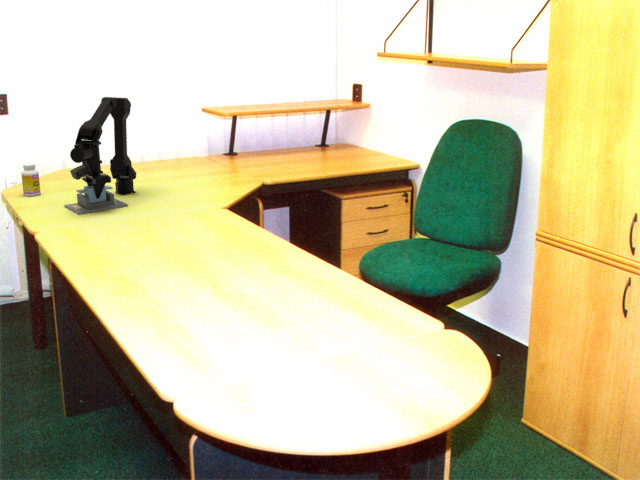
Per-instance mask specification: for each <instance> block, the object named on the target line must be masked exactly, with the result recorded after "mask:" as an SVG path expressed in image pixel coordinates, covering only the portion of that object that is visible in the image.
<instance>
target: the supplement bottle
mask: <svg viewBox="0 0 640 480" xmlns="http://www.w3.org/2000/svg"><path fill="white" fill-rule="evenodd" d="M22 168H23V170H22V171H21V184H22V192H23V193H22V194H23V195H24V196H26V197H36V196H40V195H41V186H40V185H41V183H40V174H39V171H38V170H37V169H36V164H35V163H32V162H31V163H23V165H22Z"/></svg>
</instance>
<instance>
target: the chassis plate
mask: <svg viewBox="0 0 640 480" xmlns="http://www.w3.org/2000/svg"><path fill="white" fill-rule="evenodd" d="M76 199H77V201H76V202H75V203H68V204H64V205H63V207H64V208H66V209H67V210H69V211H71V212H72V213H75V214H77V215H78V216H80V215H85V214H86V215H87V214H90V213H97V212H102V211H103V212H104V211H108V210H114V209H115V210H116V209H121V208H126V207H129V204H127V203H126V202H123V201H121V200H119V199H117V198H116V197H115V195H114V193H113V192H110V191H109V190H106V201H102V202H96V203H90V200H89V197H87V196H85V195H84V193H82V194H80V193H76Z"/></svg>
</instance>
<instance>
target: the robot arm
mask: <svg viewBox="0 0 640 480" xmlns="http://www.w3.org/2000/svg"><path fill="white" fill-rule="evenodd" d="M131 108H132V103H131V101H130V100H129V99H128V98H127V97H117V96H115V97H114V96H111V97H110V96H104V97H102V98H101V101H100V103H99V105H98V106H97V108H96V110H95V111H94V113H93V115H92V116H91V118H90V119H89V120H86V121H84V122H83V123H82V124H81V125H80V127H79V129H78V132H77V135H76V139H75V142H74V145H73V148H72V149H71V150H70V154H69V156H70V158H71V160H72V161H73V162H74V163H76V164H77V163H78V164H80V163H81V164H80V165H78V166H76V167H74V168H73V169H71V170H69V172H70V175H71V176H72V178H73V179H74V180H76V181H79V180H82V181H83V182H85V183H86V185H87V186H91V185H93V186H94V191H95V195H96V198H97V199H98V198H100V195H101V193H102V190H103V188H104V186H106V184H110V183H112V179H114V180H115V183H114V185H115V191H114V192H115V193H116V194H119V195H122V196H125V195H129V194H135V193H136V191H135V189H134V180H136V178H137V172H136V170H135V169H134V168H133V165H132V160H131V159H130V157H129V156H128V155H129V154H128V144H127V143H128V136H127V135H128V134H127V119H128V118H129V116H130V114H131ZM109 116H111V117H112V119H113V132H114V133H113V135H114V138H113V139H114V155H113V157H112V158H111V159H110V160H109V163H110V165H109V166H110V168H109V170H110V173H111V174H110V175H111V176H110V175H109V174H106V173H104V171H103V170H102V167H101V166H102V165H101V164H103V160H101V158H100V156H101V153H100V145H101V144H102V142H101V141H100V138H101V137H102V135H103V132H104V131H103V125H104V124H105V123H106V121H107V119H108V117H109Z"/></svg>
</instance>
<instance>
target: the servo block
mask: <svg viewBox="0 0 640 480" xmlns="http://www.w3.org/2000/svg"><path fill="white" fill-rule="evenodd" d="M109 190H113V186H110V185H105V186H104V188H103V190H102V193H101V195H100V198H98V199H97V198H96V195H95V191H94V186H93V185H91V186H88V185H87V186H83V189H76V193H77V194H79V193H80V194H83V195H85V196H87V197H89V200H90V203H96V202H102V201H106V191H109Z"/></svg>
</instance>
